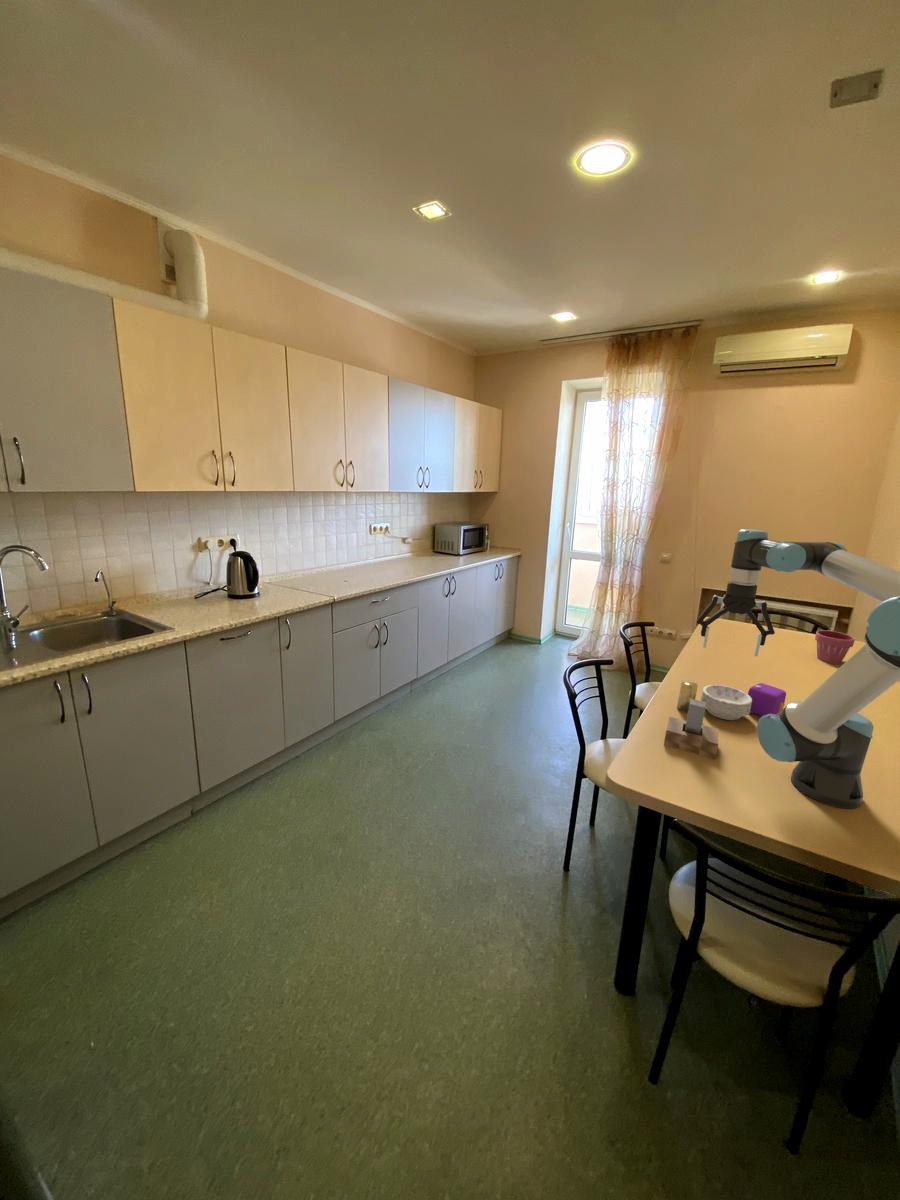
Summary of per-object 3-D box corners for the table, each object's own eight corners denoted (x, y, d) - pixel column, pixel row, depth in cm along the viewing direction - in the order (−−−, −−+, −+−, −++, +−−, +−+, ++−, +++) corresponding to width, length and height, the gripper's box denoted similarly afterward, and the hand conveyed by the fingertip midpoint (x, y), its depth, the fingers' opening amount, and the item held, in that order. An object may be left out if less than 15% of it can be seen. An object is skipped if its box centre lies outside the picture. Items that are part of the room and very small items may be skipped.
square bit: (697, 742, 147) (705, 702, 143) (697, 749, 143) (705, 707, 140) (682, 738, 149) (690, 698, 145) (681, 745, 145) (689, 704, 142)
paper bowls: (702, 719, 162) (706, 698, 160) (696, 700, 176) (700, 681, 174) (752, 728, 157) (757, 707, 155) (742, 708, 171) (747, 688, 169)
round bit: (693, 708, 169) (698, 682, 167) (692, 714, 165) (697, 688, 162) (677, 704, 172) (682, 679, 169) (676, 710, 167) (680, 684, 165)
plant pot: (817, 663, 219) (824, 637, 215) (805, 653, 232) (811, 628, 229) (854, 667, 215) (861, 641, 212) (839, 657, 228) (846, 632, 225)
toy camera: (785, 710, 171) (791, 685, 168) (778, 723, 161) (784, 697, 158) (751, 700, 178) (756, 676, 175) (742, 712, 168) (748, 686, 166)
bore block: (715, 743, 147) (718, 729, 146) (715, 759, 138) (718, 744, 137) (667, 730, 153) (669, 716, 152) (663, 744, 145) (666, 730, 144)
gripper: (791, 585, 136) (775, 654, 141) (695, 575, 146) (684, 639, 151) (796, 590, 129) (780, 662, 135) (695, 579, 140) (684, 646, 145)
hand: (729, 650), depth 143 cm, fingers open, 13 cm apart
